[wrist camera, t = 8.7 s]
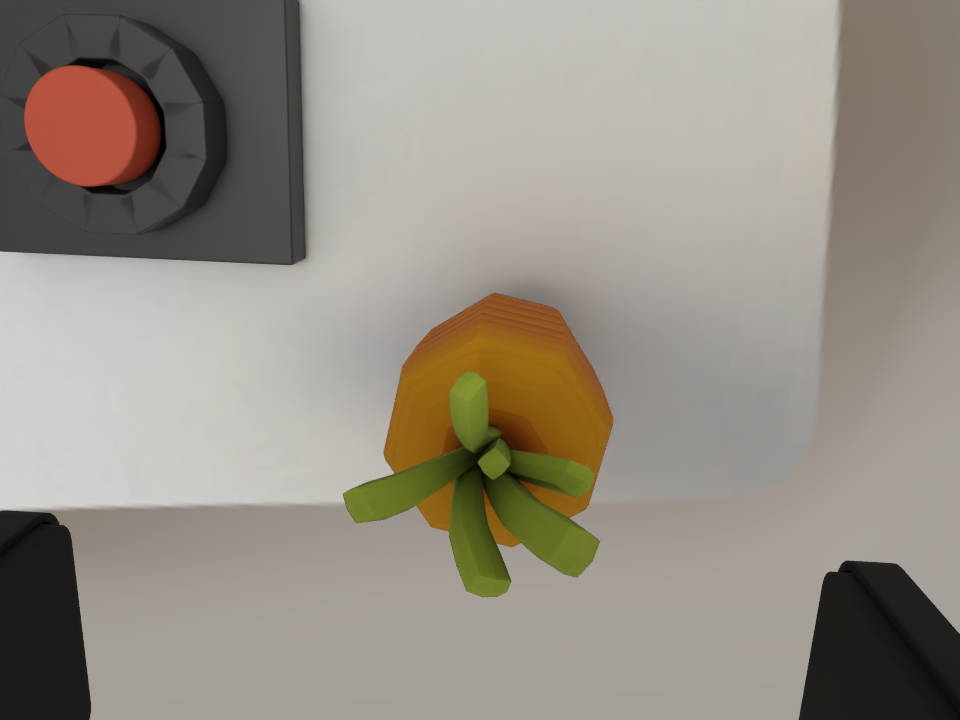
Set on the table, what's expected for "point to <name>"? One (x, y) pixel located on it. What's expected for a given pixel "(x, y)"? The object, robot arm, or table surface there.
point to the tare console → (164, 130)
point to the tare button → (92, 126)
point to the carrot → (495, 440)
